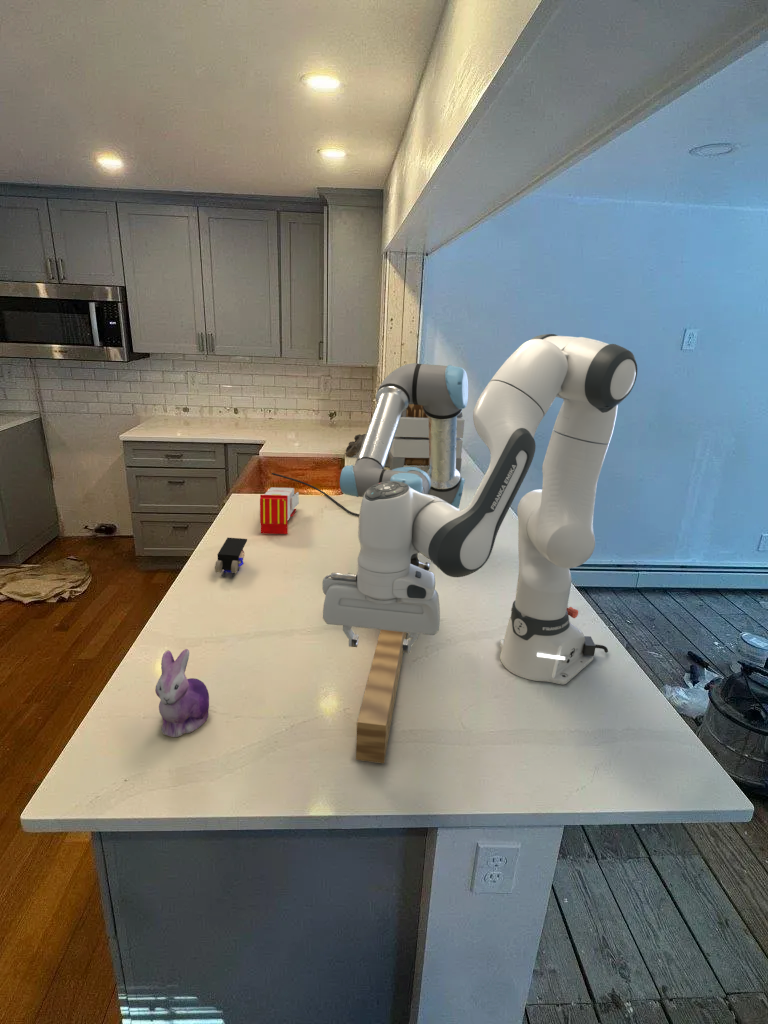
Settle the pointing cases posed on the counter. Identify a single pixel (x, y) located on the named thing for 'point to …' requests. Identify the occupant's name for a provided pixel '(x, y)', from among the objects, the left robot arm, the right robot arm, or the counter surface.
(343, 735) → the counter surface
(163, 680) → the figurine
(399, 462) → the transformer
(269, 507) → the toy
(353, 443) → the fossil
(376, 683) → the bar
